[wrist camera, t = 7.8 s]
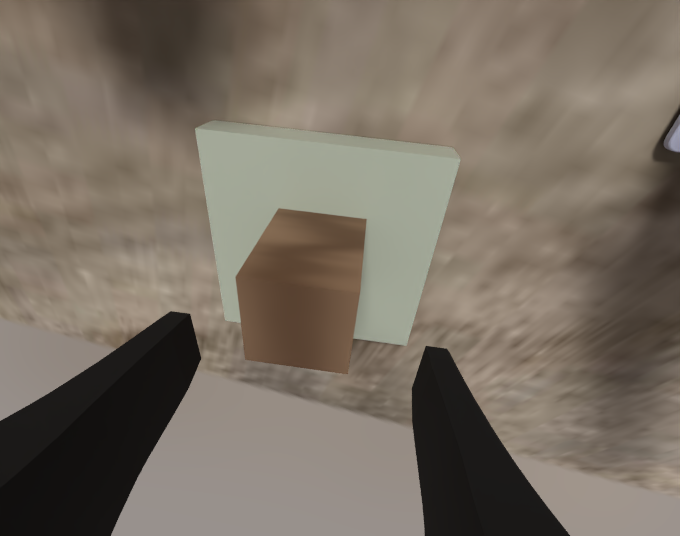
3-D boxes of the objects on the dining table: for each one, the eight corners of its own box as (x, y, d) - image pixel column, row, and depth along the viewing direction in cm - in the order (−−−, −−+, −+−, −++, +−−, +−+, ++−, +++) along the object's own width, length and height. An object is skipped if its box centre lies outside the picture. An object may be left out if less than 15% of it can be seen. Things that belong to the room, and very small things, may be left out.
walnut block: (366, 219, 17) (360, 293, 12) (356, 288, 19) (347, 374, 14) (278, 208, 17) (235, 276, 12) (280, 278, 19) (245, 359, 14)
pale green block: (453, 147, 16) (460, 158, 14) (404, 324, 23) (406, 345, 21) (213, 119, 17) (194, 128, 15) (236, 301, 23) (225, 320, 22)
